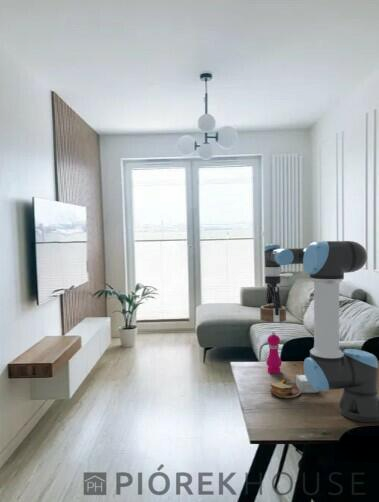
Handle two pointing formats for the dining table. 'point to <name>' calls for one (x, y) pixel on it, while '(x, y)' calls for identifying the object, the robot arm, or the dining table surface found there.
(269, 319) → the wicker basket
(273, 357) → the pepper mill
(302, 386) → the small box
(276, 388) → the toy sandwich meal
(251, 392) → the dining table surface
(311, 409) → the dining table surface
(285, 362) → the dining table surface
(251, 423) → the dining table surface
